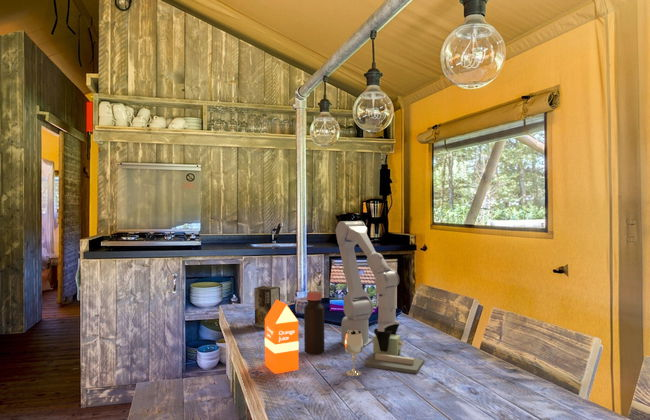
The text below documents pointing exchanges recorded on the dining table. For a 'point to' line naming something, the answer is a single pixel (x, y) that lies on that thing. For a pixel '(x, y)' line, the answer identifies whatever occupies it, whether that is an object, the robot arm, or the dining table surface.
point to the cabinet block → (389, 345)
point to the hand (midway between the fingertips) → (387, 347)
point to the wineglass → (353, 347)
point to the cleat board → (394, 363)
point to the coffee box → (264, 302)
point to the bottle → (314, 324)
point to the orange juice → (281, 339)
